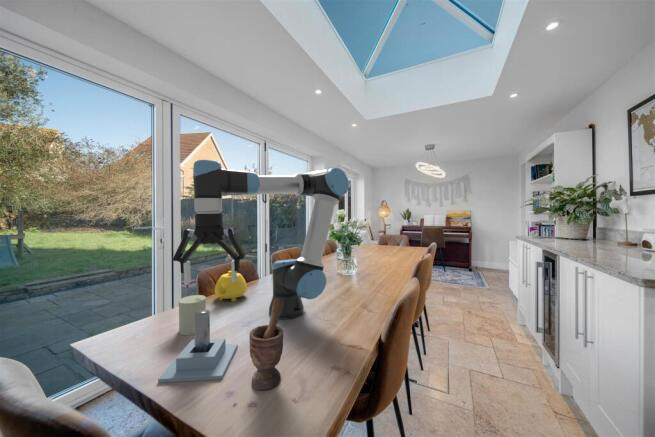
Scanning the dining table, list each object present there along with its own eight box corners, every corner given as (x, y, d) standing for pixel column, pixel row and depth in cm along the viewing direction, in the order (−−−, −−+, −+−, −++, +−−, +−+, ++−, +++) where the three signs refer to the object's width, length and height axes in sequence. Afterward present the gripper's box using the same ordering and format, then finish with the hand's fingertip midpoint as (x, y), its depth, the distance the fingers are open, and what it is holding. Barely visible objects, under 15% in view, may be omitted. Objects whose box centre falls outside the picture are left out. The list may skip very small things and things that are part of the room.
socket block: (237, 346, 83) (237, 333, 82) (222, 379, 67) (221, 362, 66) (186, 349, 81) (186, 335, 81) (158, 382, 65) (157, 365, 65)
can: (194, 336, 89) (194, 303, 89) (172, 333, 91) (172, 301, 91) (211, 324, 98) (211, 294, 98) (191, 322, 100) (190, 292, 100)
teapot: (232, 307, 116) (232, 278, 115) (202, 305, 118) (201, 276, 118) (252, 293, 135) (252, 268, 135) (226, 291, 138) (225, 267, 138)
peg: (212, 355, 76) (211, 309, 76) (206, 363, 72) (206, 314, 72) (198, 355, 76) (197, 309, 75) (192, 363, 72) (191, 315, 71)
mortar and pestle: (257, 363, 73) (257, 296, 73) (287, 363, 74) (287, 296, 73) (245, 392, 62) (244, 312, 61) (280, 392, 62) (280, 312, 61)
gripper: (253, 211, 81) (255, 277, 82) (171, 213, 78) (173, 280, 79) (249, 212, 73) (251, 284, 74) (157, 213, 70) (160, 288, 71)
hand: (211, 282), depth 76 cm, fingers open, 13 cm apart
